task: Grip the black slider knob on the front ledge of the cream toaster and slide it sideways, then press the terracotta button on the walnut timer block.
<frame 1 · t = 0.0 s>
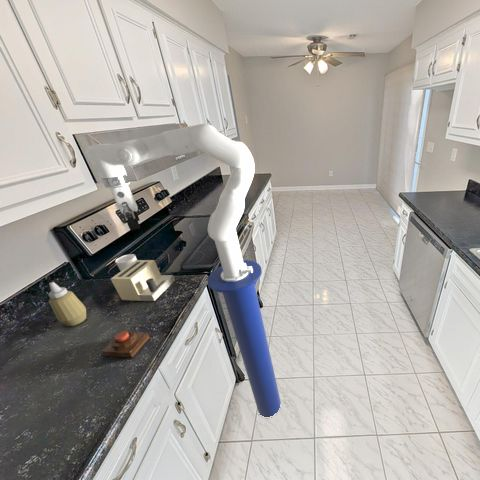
hand: (135, 225, 98), 31 cm above the worktop, tool pointing down, fingers open, 9 cm apart
squeeze bottle: (77, 321, 97), on the worktop
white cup: (134, 276, 122), on the worktop
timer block: (127, 346, 84), on the worktop
timer button: (122, 336, 82), point 4 cm above the worktop, slide at 0.1 cm
toaster: (149, 289, 111), on the worktop
toaster slider: (151, 285, 104), point 6 cm above the worktop, slide at 0.0 cm
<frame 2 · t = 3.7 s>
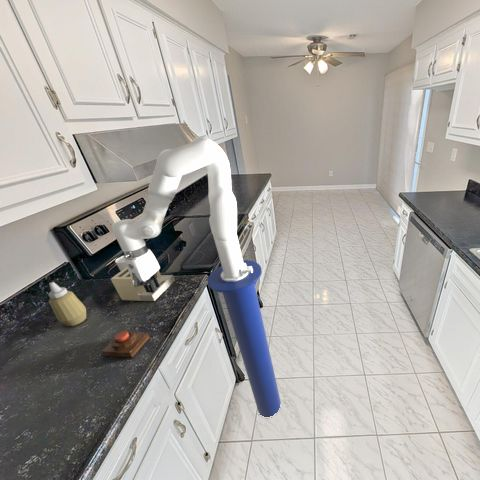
hand: (153, 289, 105), 4 cm above the worktop, tool pointing down, fingers closed on toaster slider, 2 cm apart
toaster slider: (151, 285, 104), point 6 cm above the worktop, slide at 0.0 cm, touching gripper
everything else where it was.
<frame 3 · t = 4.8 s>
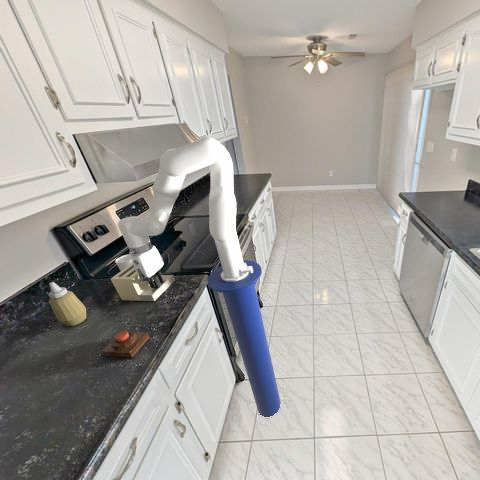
hand: (157, 285, 108), 4 cm above the worktop, tool pointing down, fingers closed on toaster slider, 2 cm apart
toaster slider: (156, 281, 107), point 6 cm above the worktop, slide at 2.7 cm, touching gripper
everything else where it was.
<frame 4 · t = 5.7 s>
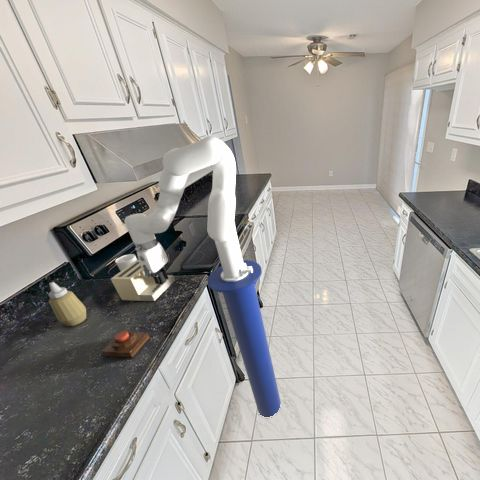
hand: (162, 280, 110), 4 cm above the worktop, tool pointing down, fingers closed on toaster slider, 2 cm apart
toaster slider: (160, 277, 109), point 6 cm above the worktop, slide at 5.7 cm, touching gripper
everything else where it was.
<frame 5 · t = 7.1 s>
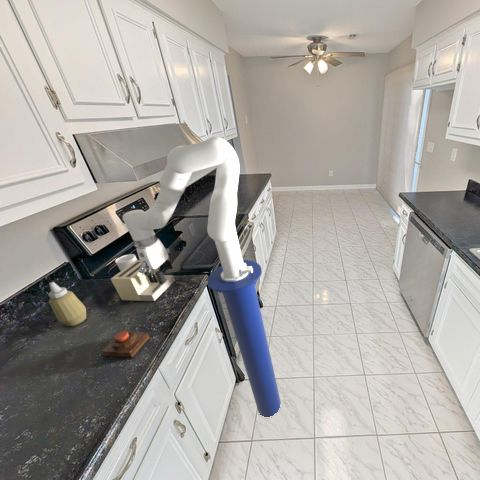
hand: (162, 275, 109), 6 cm above the worktop, tool pointing down, fingers open, 9 cm apart
toaster slider: (160, 277, 109), point 6 cm above the worktop, slide at 5.6 cm
everything else where it was.
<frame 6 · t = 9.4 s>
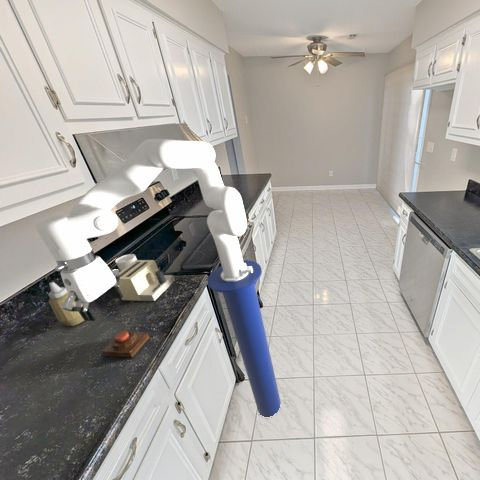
hand: (105, 308, 77), 17 cm above the worktop, tool pointing down, fingers open, 9 cm apart
nothing on the worktop moved.
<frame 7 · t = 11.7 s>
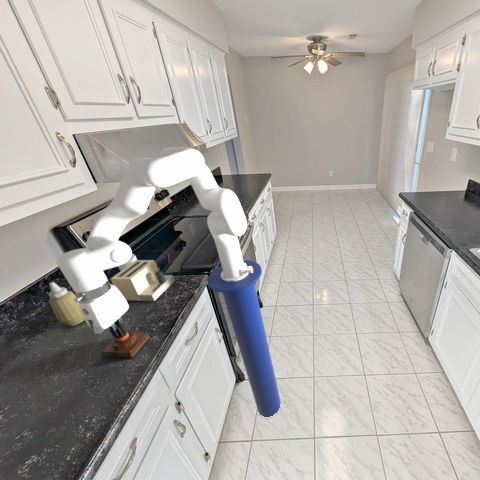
hand: (120, 335, 81), 5 cm above the worktop, tool pointing down, fingers closed
timer button: (122, 336, 82), point 4 cm above the worktop, slide at 0.1 cm, touching gripper
everything else where it was.
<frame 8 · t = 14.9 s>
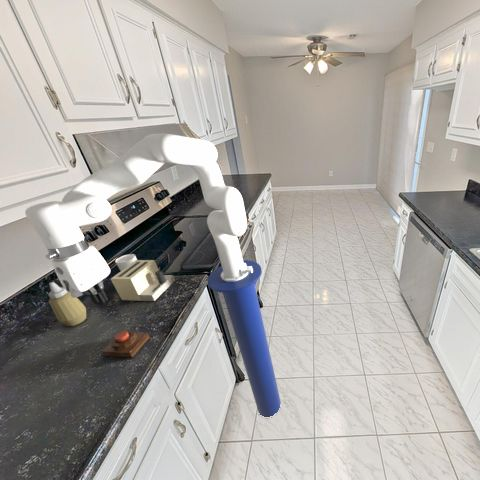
hand: (101, 301, 75), 19 cm above the worktop, tool pointing down, fingers closed
timer button: (122, 336, 82), point 4 cm above the worktop, slide at 0.1 cm
everything else where it was.
at the end: toaster slider slide at 5.6 cm; timer button pushed in 1.1 cm at the most during the clip, back to where it started at the end; timer button slide at 0.1 cm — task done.
